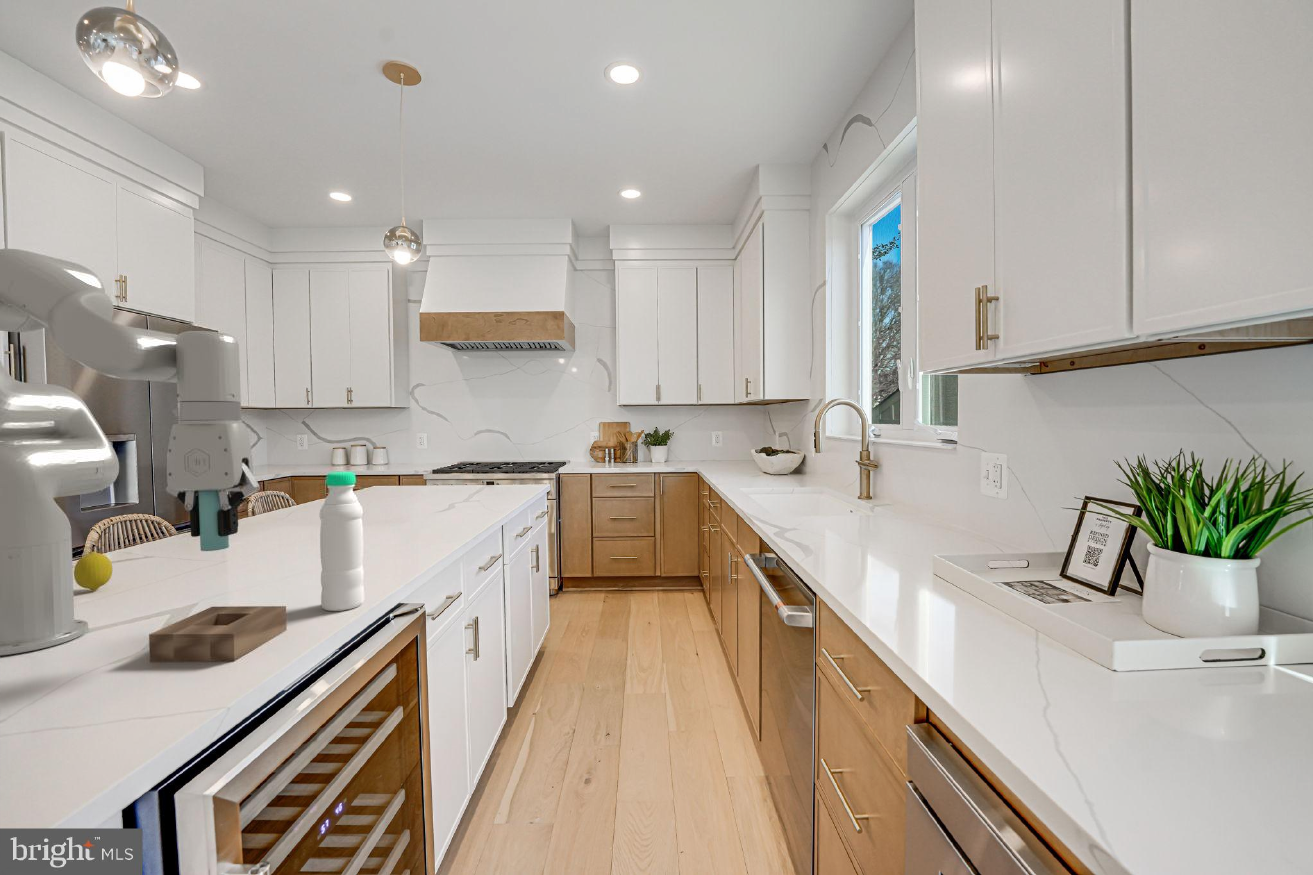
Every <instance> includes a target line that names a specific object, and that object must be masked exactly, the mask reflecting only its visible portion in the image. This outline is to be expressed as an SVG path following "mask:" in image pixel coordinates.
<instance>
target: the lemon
mask: <svg viewBox="0 0 1313 875" xmlns="http://www.w3.org/2000/svg"><path fill="white" fill-rule="evenodd" d="M112 575H113V564H112V561H111V559H110V558H109V557H108V556H106V555H105V554H103V553H98V552H96V551H90V552H89V553H87V554H86V555H84V556H82V557H81V558H80V559H79V560H78V561H77V562H76V564H75V566H74V570H73V579H74V580H75V582H76V584H77V585H78V586H79V587H80V588H84V589H88V590H89V591H91V592H95V591H97V590H98V589H100V587H102V586H105V585H107V583H108V582H110V579H111V578H112Z"/></svg>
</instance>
